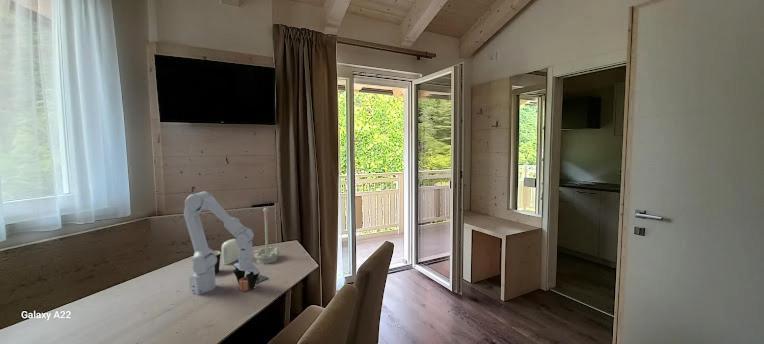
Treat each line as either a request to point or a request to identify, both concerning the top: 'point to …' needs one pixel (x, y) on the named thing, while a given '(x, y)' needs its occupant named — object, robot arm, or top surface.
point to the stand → (246, 290)
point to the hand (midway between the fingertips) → (246, 286)
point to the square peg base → (260, 278)
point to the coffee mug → (217, 261)
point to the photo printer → (229, 252)
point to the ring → (244, 284)
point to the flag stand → (268, 253)
